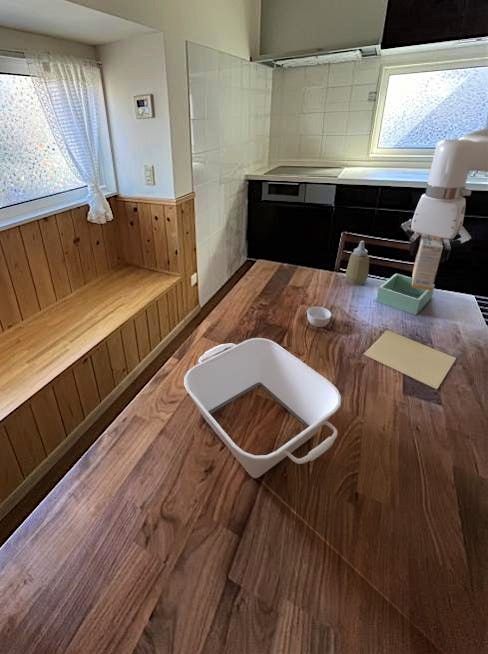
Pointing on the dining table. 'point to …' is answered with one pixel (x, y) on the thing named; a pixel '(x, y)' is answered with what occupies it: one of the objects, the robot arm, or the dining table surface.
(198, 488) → the dining table surface
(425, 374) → the mat
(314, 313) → the teacup
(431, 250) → the supplement box
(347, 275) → the squeeze bottle
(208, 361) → the tub
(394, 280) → the box
